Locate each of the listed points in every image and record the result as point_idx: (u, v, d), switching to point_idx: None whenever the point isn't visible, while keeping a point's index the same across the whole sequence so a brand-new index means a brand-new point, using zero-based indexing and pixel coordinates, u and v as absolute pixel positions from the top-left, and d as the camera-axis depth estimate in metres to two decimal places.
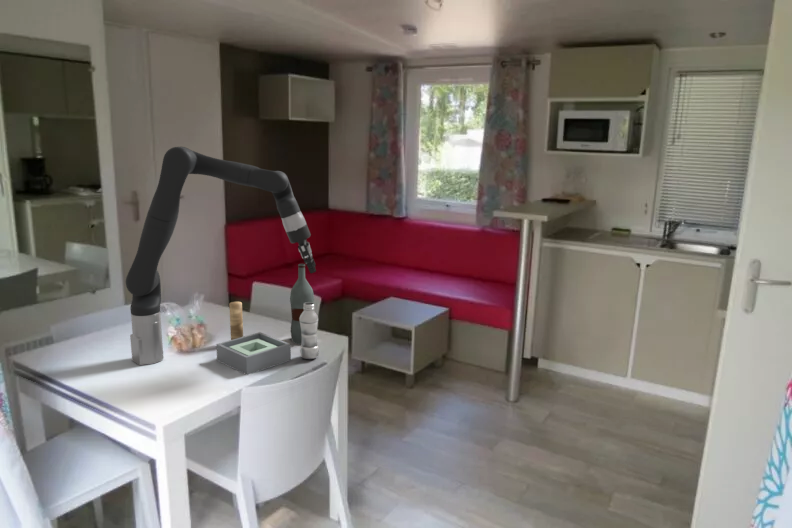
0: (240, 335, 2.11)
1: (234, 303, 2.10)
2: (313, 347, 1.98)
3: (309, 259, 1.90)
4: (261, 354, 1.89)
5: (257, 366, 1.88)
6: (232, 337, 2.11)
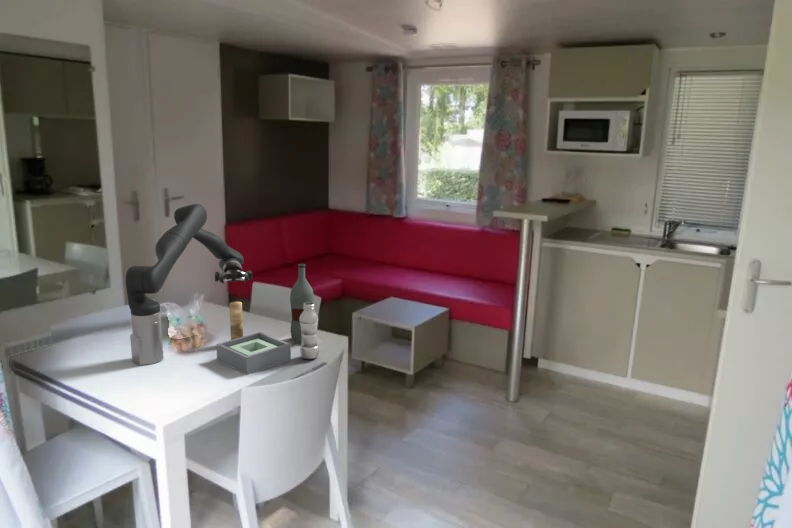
0: (240, 335, 2.11)
1: (234, 303, 2.10)
2: (313, 347, 1.98)
3: None
4: (261, 354, 1.89)
5: (257, 366, 1.88)
6: (232, 337, 2.11)
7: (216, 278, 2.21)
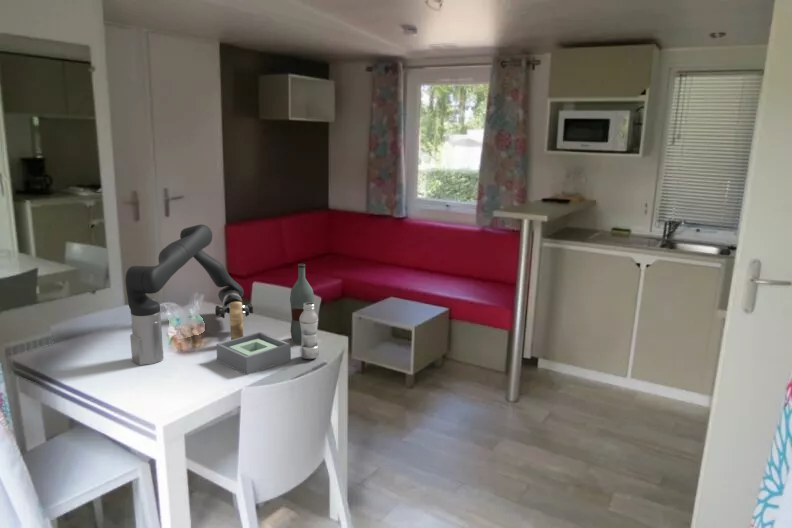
0: (240, 335, 2.11)
1: (234, 303, 2.10)
2: (313, 347, 1.98)
3: (252, 311, 2.25)
4: (261, 354, 1.89)
5: (257, 366, 1.88)
6: (232, 337, 2.11)
7: (217, 312, 2.20)
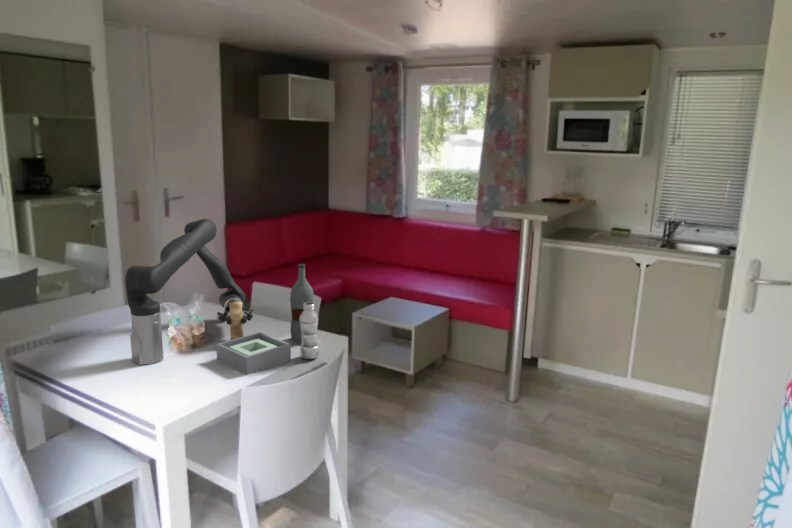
0: (240, 335, 2.11)
1: (234, 303, 2.10)
2: (313, 347, 1.98)
3: (250, 318, 2.16)
4: (261, 354, 1.89)
5: (257, 366, 1.88)
6: (232, 337, 2.11)
7: (222, 319, 2.11)
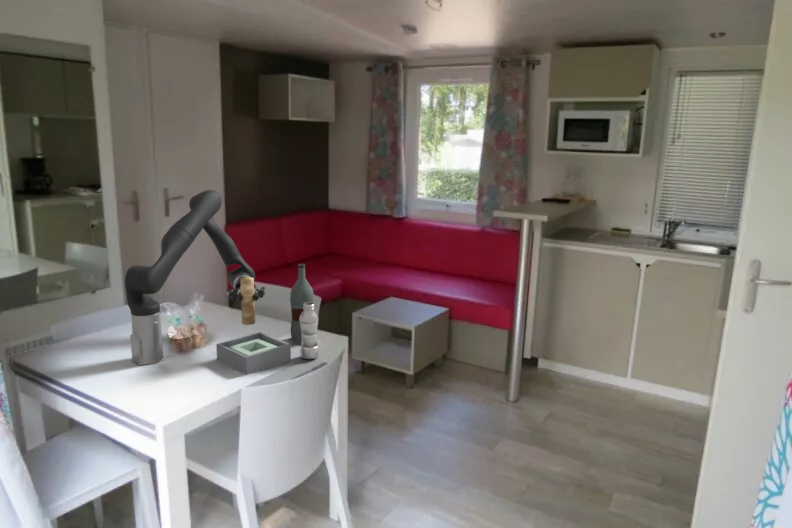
0: (252, 313, 1.97)
1: (245, 278, 1.96)
2: (313, 347, 1.98)
3: (262, 295, 2.02)
4: (261, 354, 1.89)
5: (257, 366, 1.88)
6: (243, 315, 1.97)
7: (233, 296, 1.98)
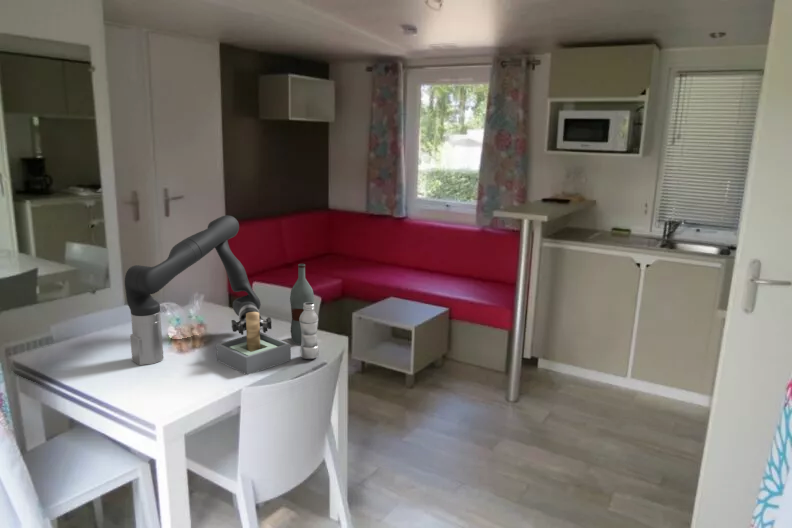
0: (257, 348, 1.96)
1: (251, 313, 1.95)
2: (313, 347, 1.98)
3: (271, 326, 2.01)
4: (261, 354, 1.89)
5: (257, 366, 1.88)
6: (249, 350, 1.96)
7: (234, 328, 1.96)
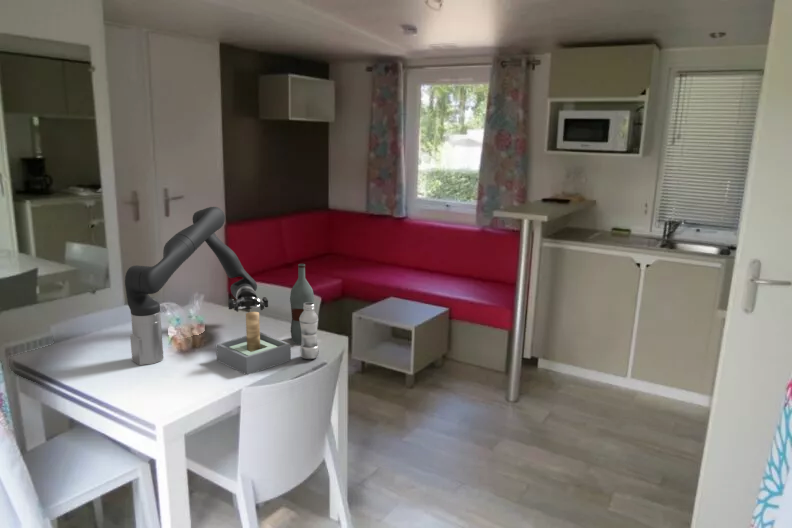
0: (257, 348, 1.96)
1: (251, 313, 1.95)
2: (313, 347, 1.98)
3: None
4: (261, 354, 1.89)
5: (257, 366, 1.88)
6: (248, 350, 1.96)
7: (230, 306, 2.07)
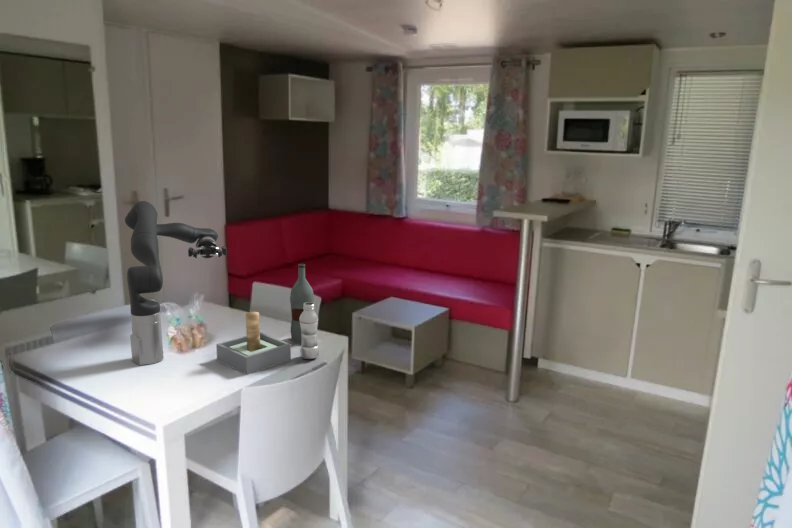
0: (257, 348, 1.96)
1: (251, 313, 1.95)
2: (313, 347, 1.98)
3: (226, 253, 2.24)
4: (261, 354, 1.89)
5: (257, 366, 1.88)
6: (248, 350, 1.96)
7: (189, 253, 2.19)
